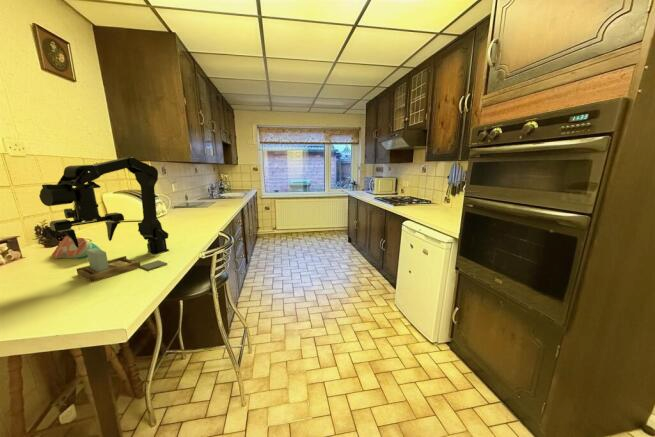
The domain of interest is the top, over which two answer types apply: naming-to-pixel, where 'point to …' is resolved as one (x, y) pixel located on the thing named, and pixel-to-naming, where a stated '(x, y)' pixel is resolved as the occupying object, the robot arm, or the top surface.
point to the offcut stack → (117, 264)
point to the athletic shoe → (73, 248)
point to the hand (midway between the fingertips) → (94, 243)
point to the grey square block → (97, 260)
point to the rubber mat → (153, 265)
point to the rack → (95, 276)
